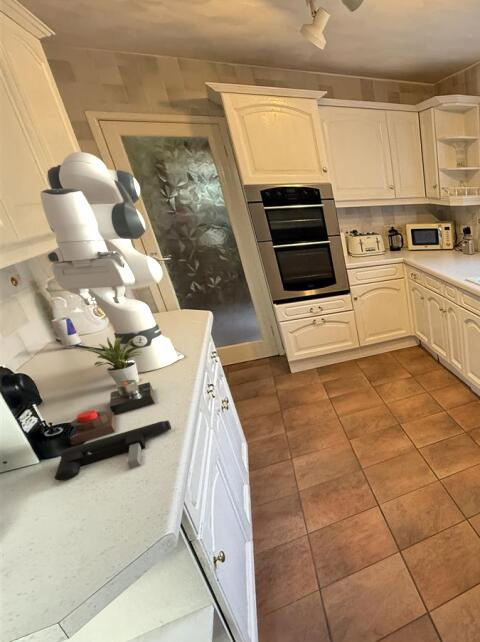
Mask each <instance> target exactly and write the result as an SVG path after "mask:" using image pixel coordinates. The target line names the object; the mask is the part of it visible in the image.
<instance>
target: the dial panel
mask: <svg viewBox="0 0 480 642" xmlns="http://www.w3.org/2000/svg"><path fill="white" fill-rule="evenodd" d="M137 385H138V387H139V389H140V392H139V393H137V394H135V395H132V396H128V397H121V396H120V394H119V392H118V390H117V389H116V390H114V391H111V392H110V399H109V409H110V412H112V411H113V413H114V414H115V416H118V415H120V414H125V413H129V412H132V411H135V410H139V409H142V408H146V407H149V406H152V405H155V404H156V403H155V402H156V401H155V394H154V393H155V392H154V389H153V386H152V384H151V382H150V381H148V382H145V383H140V384H137Z"/></svg>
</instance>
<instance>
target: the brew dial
mask: <svg viewBox="0 0 480 642" xmlns="http://www.w3.org/2000/svg"><path fill="white" fill-rule="evenodd" d="M138 385H139V384H138V382H137V383H136V381H135V380H127V381H123V382H120V383H118V384H117V383H116V384H115V387H116V391H117V390H118V392H119V394H120V396H121V397H128V396H132V395H135V394H137V393H139V392H140V389H139V387H138Z"/></svg>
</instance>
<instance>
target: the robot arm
mask: <svg viewBox="0 0 480 642" xmlns="http://www.w3.org/2000/svg"><path fill="white" fill-rule="evenodd" d="M46 181H47V185H48V186H49V188H48V189H44V190H42V191H40V195H39V196H40V201H41V205H42V209H43V213H44V215H45V219H46V221H47V223H48V226H49V228H50V230H51V231H52V232H53V233H54V234H55V242H56V244H57V247H55V248H54V249H53V250H52V251H50V252H48V253H47V254H45V259H46V261H47V263H51V266H50V267H51V272H52V275H53V276H54V278H55V281H56V283H57V284H58V286H59V287H60V288H61V289H62V290H64V291H67V292H68V293H71V294H74V295H77V296H78V297H80V298H81V299H82V300H83V303H84V305H86V306H93V305H96V306H97V307H98V308H99V309H101V311H102V312H103V313H104V315H105V316H106V318H107V320H108V322H109V323H110V325H111V327H112V329H113V331H114V332H113V335H114V339H115V340H116V338H117V337H119V340H120V339H121V338H122V339H121V341H120V350H121V349H122V348H123V347H124V346H126V344H127V343H128V342H129V341H130V340H131V339H133V338H134V339H133V340H132V341H131V342H130V343H131V344H129V345H132V346H129V345H128V347H126V349H127V350H129V349H131V348H134V347H138V346H142V347H139V348H137V349H135V350H133V351H132V352H131V353H130V354H132V353H134V352H143V353H134V354H140V355H137V356H133V357H130V356H132V355H134V354H132V355H130V354H129V355H130V356H129V357H130V358H131V359H130V358H128V362H135V363H136V367H137V372H138V374H140V373H145V372H146V373H147V372H150V371H155V370H158V369H162V368H164V367H165V368H166V367H167V366H169V365H172V364H173V363H175V362H177V361H179V360H182V359H184V358H185V356H184V354H183V353H181V352H179V351H178V350H176V349H175V347H174V346H173V344H172V342H171V340H170V338H168V337H166V336H165V335H163V334H162V331H161V330H162V329H161V327H160V326H159V324H158V323H156V320H155V318H154V315H153V313H152V311H151V309H150V307H149V305H148V304H147V303H146V302H144V301H141V300H139V299H134V298H131V297H130V298H129V297H127V296H125V293H126V290H135V289H142V288H143V289H144V288H147V287H150V286H151V287H152V286H154V285H157V284H159V283H160V282H161V281H162V279H163V275H164V273H163V268H162V266H161V264H160V263H159V262H158V261H157V260H156V259H155V258H153V257H151V256H150V255H147V254H144V253H142V252H139V251H138V250H137V249H136V248H135V247H134V246H133V244H132V241H131V240H138V239H139V238H141V237H142V236H143V235H144V234H145V233H146V229H147V227H146V222H145V220H144V217H143V215H142V214H141V212H140V210H138V209H137V207H136V205H135V204H136V203H137V202H138V200H139V199H140V196H141V187H140V184H139V182H138V181H137V179H136V178H135V176H134V175H133V174H132V173H131V172H128V171H125V170H120V169H117V170H115V169H110V168H108V167H107V165H106V163H104V161H102V160H101V159H100V158H99V157H97V156H96V155H94V154H92V153H88V152H84V151H75V152H72V153H69V154H68V155H67V156H66V157H65V158H64V159H63V161H62V162H61V164H57V166H56V165H55V166H52V167H51V168H49V169H48V170H47V175H46ZM135 337H136V338H135ZM54 340H55V341H56V342H59V343H61V344H62V342H61V340H60V338H55V339H54ZM133 342H134V343H133ZM144 345H145V346H144ZM75 346H76V347H75V348H82V349H86V350H93V351H96V350H98V351H101V352H104V353H105V352H106V351H105V350H104V349H103V348H101V347H96V346H88V345H83V344H82V345H75ZM91 348H93V349H91ZM94 349H96V350H94ZM123 349H124V348H123ZM127 350H125V351H124V353H125V352H126V351H127ZM122 351H123V350H122ZM121 353H123V352H121ZM141 355H142V356H141ZM129 359H130V360H129ZM126 362H127V361H126Z"/></svg>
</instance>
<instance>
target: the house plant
mask: <svg viewBox="0 0 480 642" xmlns="http://www.w3.org/2000/svg"><path fill="white" fill-rule="evenodd" d="M135 338H136V337H135ZM121 339H122V338H121ZM121 339H120V340H119V337H117V338H116V339H115V340H114V342H113V344H112V343H111V341H110V338H109V337H108V336H107V337H106V341H107V344H108V347H107V346H106V345H104V344H101V343H98V348H101V349H104V350H105V351H106V352H105V351H104V352H103V351H100V350H96V349H94V350H93V348H91V349H88V352H92V353H94V354H96V355H97V354H98V356H97V358H98V359H103V360H106V361H107V362H104V361H96V362H94V365H93V367H95V366H97V367H99V366H102V365H110V366H108V367H107V368H106V371H107V373H108V374H109V376H111V378H112V380H113V381H114V382H115V383H116V385H117V384H118V383H120V382H123V381H127V380H135V381H136V383H137V384H138V383H139V382H140V377H139V373H138V372H137V367H136V363H135V362H128V358H130V357H133V356H137V355H140V354H134V353H143V352H134V353H132V354H134V355H132V354H130V353H131V352H132V351H133V350H135V349H137V348H139V347H142V346H138V347H134V348H131V349H129V350H127V349H126V347H128V345H129V344H131V343H130V342H131V341H132V340H133V339H134V338H133V339H131V340H130V341H129V342H128V343H127V344H126V346H124V347H123V348H124V349H123V348H122V349H121V350H120V341H121ZM133 343H134V342H133ZM129 346H132V345H129ZM144 346H145V345H144ZM91 347H97V345H95V344H93V345H91ZM122 350H123V351H122ZM125 350H127V351H126V352H125V353H124V351H125ZM80 352H83V351H82V350H81V351H80ZM121 352H123V353H121ZM129 354H130V355H132V356H130V355H129ZM129 356H130V357H129ZM141 356H142V355H141ZM130 359H131V358H130ZM130 359H129V360H130ZM126 361H127V362H126Z"/></svg>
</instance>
